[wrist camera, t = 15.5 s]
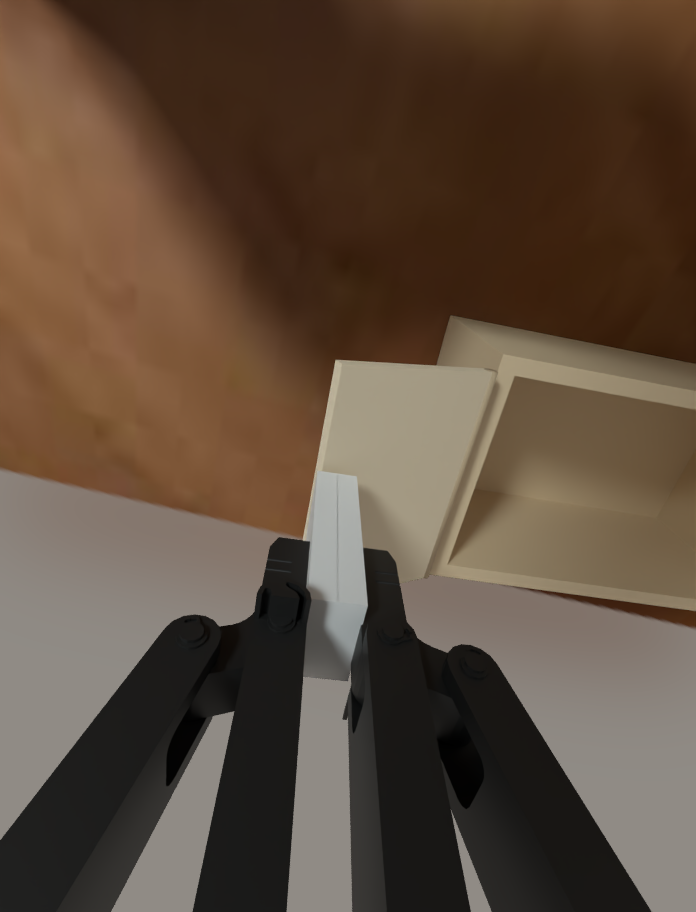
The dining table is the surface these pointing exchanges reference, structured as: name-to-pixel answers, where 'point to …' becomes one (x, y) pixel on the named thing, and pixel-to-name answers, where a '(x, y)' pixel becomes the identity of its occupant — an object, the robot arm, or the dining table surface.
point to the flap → (403, 450)
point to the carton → (576, 469)
